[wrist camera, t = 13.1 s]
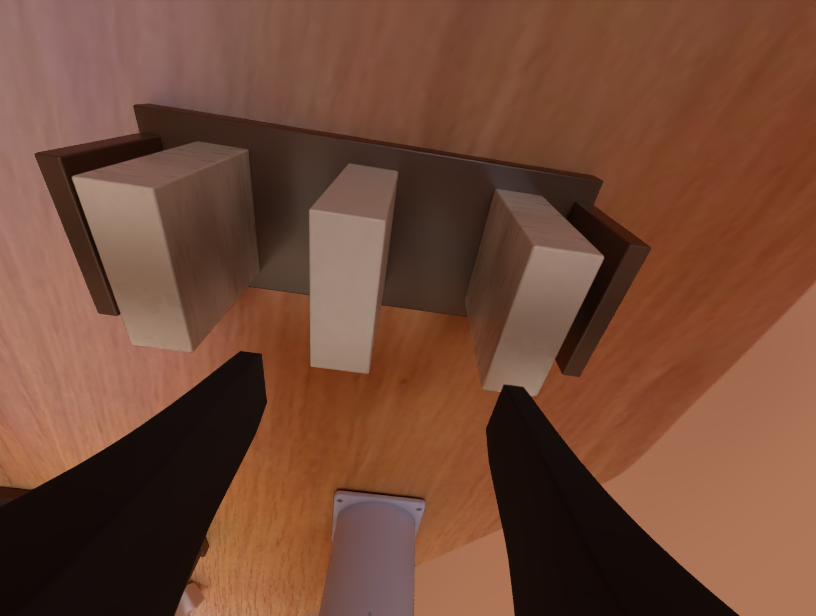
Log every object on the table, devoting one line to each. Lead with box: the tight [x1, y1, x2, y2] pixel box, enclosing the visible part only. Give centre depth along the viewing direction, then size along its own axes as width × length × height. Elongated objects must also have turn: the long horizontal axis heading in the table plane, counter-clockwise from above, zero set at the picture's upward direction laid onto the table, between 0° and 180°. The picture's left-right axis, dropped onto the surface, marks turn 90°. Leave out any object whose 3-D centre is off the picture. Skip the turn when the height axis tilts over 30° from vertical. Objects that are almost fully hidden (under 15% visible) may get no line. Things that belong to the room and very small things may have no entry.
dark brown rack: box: [35, 104, 651, 396], centre depth 15 cm, size 8×20×8 cm, turn 82°
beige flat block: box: [309, 164, 398, 374], centre depth 14 cm, size 6×2×6 cm, turn 172°
